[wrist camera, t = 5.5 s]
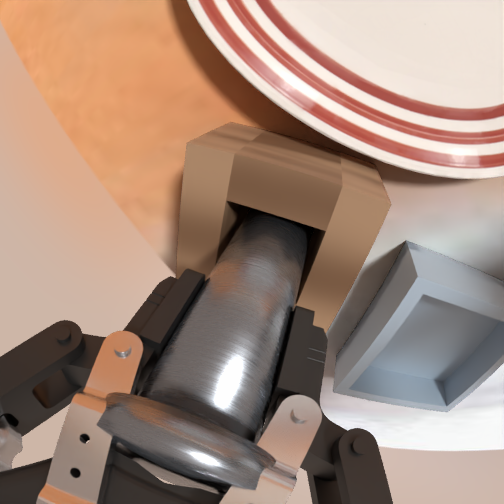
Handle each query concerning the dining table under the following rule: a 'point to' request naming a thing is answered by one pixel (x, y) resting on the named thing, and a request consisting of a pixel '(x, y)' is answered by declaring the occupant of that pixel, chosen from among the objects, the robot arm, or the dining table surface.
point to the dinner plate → (378, 74)
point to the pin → (218, 366)
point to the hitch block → (281, 206)
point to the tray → (425, 334)
